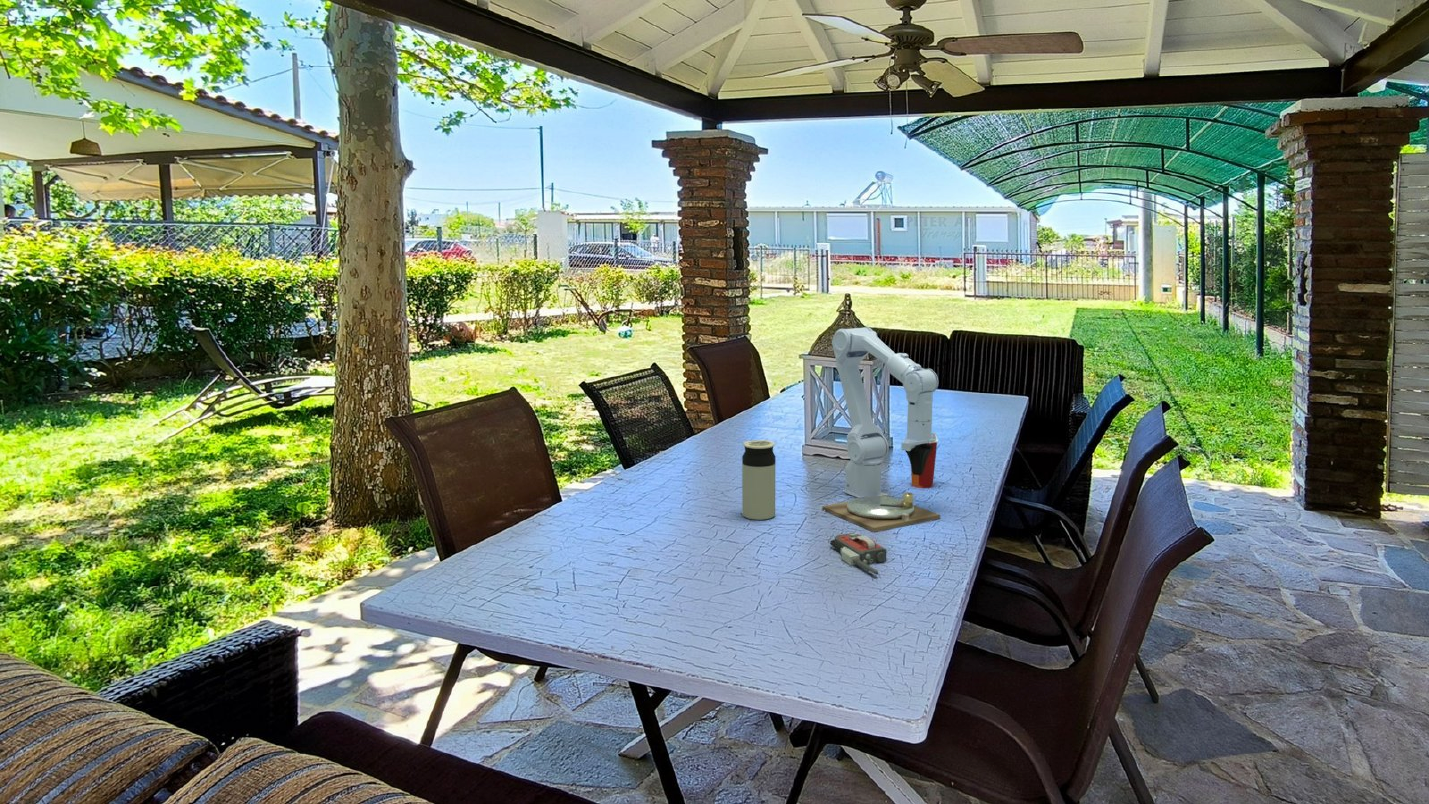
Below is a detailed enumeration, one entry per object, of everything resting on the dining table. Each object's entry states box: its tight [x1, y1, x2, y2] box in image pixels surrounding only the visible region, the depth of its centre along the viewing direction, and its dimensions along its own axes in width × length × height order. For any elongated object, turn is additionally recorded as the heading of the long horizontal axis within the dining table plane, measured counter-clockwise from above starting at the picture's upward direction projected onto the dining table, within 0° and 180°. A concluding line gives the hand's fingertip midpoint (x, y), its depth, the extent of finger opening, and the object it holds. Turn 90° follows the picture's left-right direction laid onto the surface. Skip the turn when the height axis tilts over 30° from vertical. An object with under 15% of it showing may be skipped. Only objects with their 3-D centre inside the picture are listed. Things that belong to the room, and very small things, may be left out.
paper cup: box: [910, 434, 939, 489], centre depth 236 cm, size 8×8×14 cm
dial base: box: [821, 495, 941, 533], centre depth 211 cm, size 20×20×2 cm
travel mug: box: [741, 439, 776, 521], centre depth 210 cm, size 8×8×18 cm
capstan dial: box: [847, 492, 914, 519], centre depth 211 cm, size 16×16×4 cm
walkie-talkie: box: [829, 532, 887, 575], centre depth 181 cm, size 9×4×20 cm
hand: (917, 474), depth 212 cm, fingers closed
